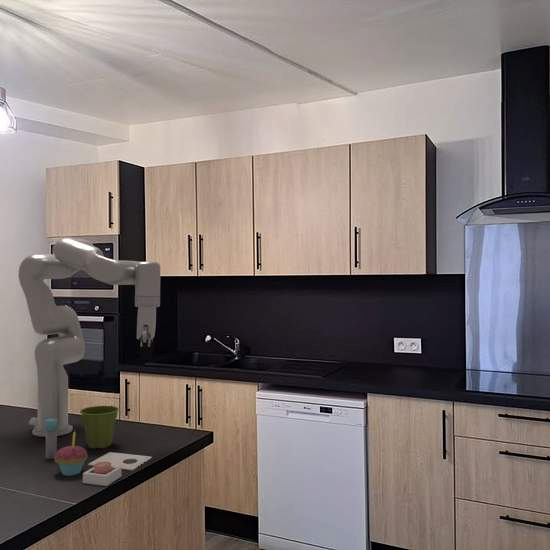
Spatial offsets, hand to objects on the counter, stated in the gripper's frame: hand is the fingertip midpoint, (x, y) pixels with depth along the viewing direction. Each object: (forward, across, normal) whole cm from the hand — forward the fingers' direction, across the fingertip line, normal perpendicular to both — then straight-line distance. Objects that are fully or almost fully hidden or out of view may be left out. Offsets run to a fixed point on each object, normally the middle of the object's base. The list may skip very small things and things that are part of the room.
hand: (146, 357), depth 177 cm
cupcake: (+28, +20, -18) cm, 39 cm away
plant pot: (+28, -4, -14) cm, 32 cm away
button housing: (+28, +26, -9) cm, 39 cm away
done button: (+26, +26, -9) cm, 38 cm away
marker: (+28, +7, -26) cm, 39 cm away
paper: (+28, +12, -6) cm, 31 cm away
